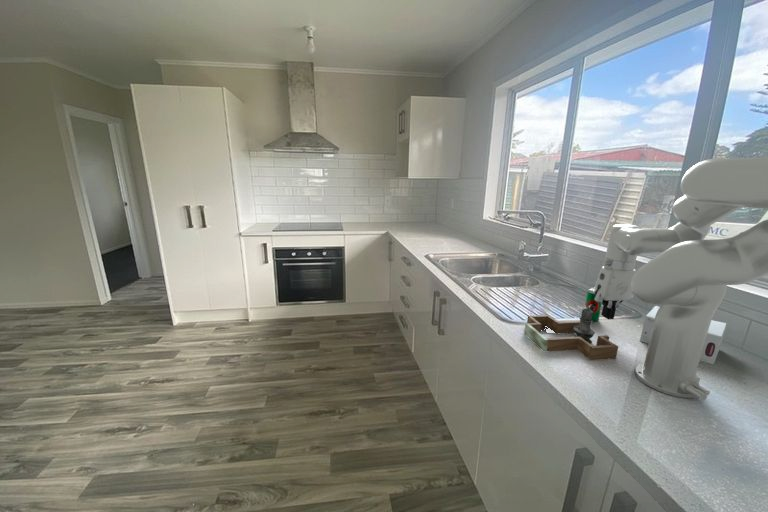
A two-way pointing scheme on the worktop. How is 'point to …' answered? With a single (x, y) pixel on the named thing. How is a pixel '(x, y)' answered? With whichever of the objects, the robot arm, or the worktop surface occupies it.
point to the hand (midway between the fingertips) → (607, 317)
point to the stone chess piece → (585, 325)
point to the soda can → (593, 304)
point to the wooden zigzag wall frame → (567, 338)
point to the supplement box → (711, 341)
